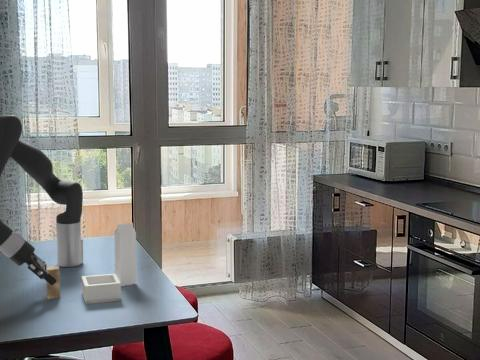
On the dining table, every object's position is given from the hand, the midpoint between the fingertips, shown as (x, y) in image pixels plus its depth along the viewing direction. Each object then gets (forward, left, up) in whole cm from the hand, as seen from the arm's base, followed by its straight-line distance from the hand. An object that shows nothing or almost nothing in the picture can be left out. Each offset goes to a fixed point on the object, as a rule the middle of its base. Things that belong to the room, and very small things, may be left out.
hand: (53, 279), depth 203 cm
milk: (-25, +9, -6) cm, 27 cm away
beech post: (0, 0, -6) cm, 6 cm away
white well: (-9, +13, -6) cm, 17 cm away
